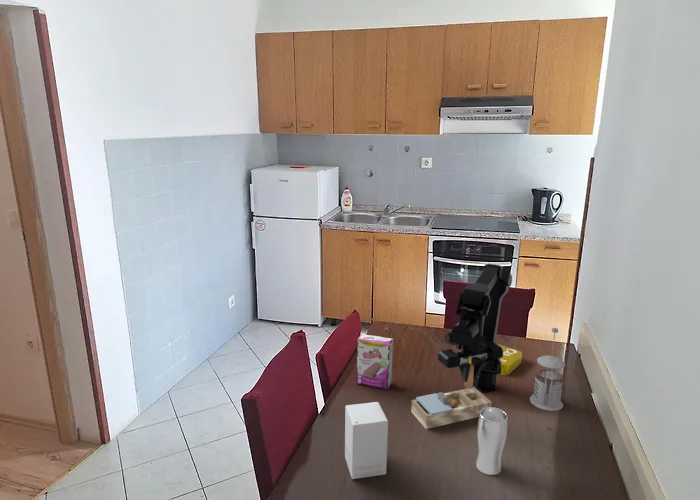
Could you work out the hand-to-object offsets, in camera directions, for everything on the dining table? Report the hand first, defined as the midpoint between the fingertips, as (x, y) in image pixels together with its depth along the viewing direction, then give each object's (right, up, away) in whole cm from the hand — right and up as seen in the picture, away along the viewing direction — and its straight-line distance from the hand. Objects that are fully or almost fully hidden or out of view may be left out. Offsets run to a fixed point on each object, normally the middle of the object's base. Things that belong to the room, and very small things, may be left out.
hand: (468, 380), depth 138 cm
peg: (0, -2, 0) cm, 2 cm away
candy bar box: (-27, -7, +20) cm, 34 cm away
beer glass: (0, -17, -19) cm, 25 cm away
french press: (+26, -10, +10) cm, 30 cm away
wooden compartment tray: (-4, -11, +4) cm, 12 cm away
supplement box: (-31, -16, -19) cm, 40 cm away
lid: (-10, -7, +1) cm, 13 cm away
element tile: (+19, -4, +36) cm, 41 cm away
